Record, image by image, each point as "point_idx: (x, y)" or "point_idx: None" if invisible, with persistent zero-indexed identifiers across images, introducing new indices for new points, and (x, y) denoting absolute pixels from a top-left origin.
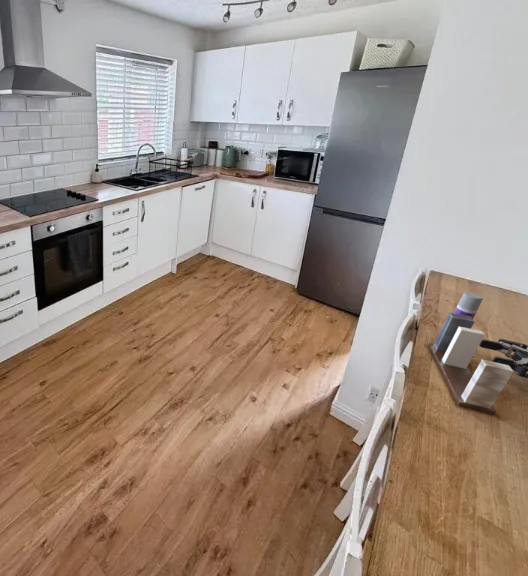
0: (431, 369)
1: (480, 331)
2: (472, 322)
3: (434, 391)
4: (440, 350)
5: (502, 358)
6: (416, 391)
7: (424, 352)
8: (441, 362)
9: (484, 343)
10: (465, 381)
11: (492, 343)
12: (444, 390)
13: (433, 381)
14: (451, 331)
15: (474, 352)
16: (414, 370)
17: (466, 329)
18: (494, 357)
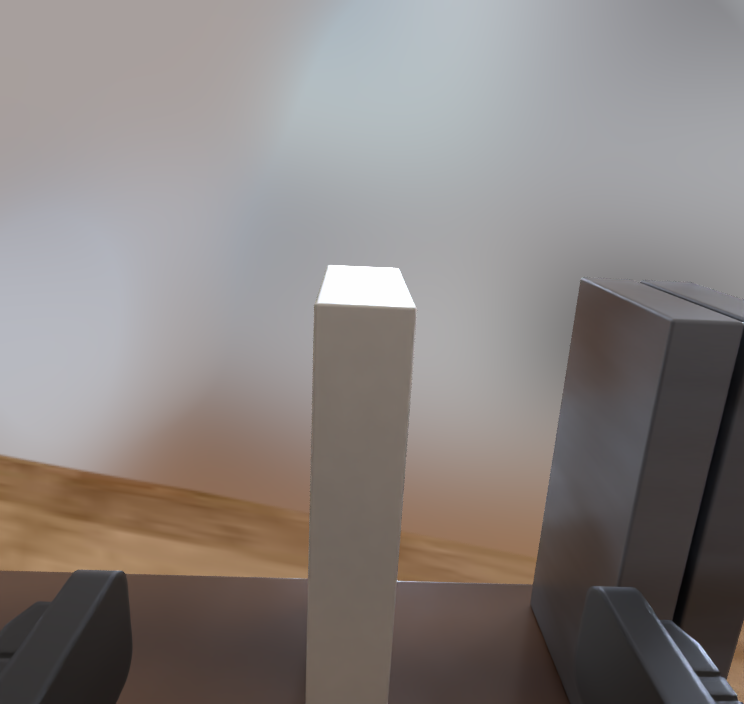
0: (251, 561)
1: (387, 300)
2: (660, 329)
3: (4, 527)
4: (539, 619)
5: (64, 619)
6: (12, 473)
7: (476, 572)
8: None
9: (599, 644)
10: None
11: (644, 698)
12: (9, 568)
13: (108, 543)
14: (571, 433)
15: (311, 549)
16: (210, 497)
17: (361, 274)
18: (121, 574)
